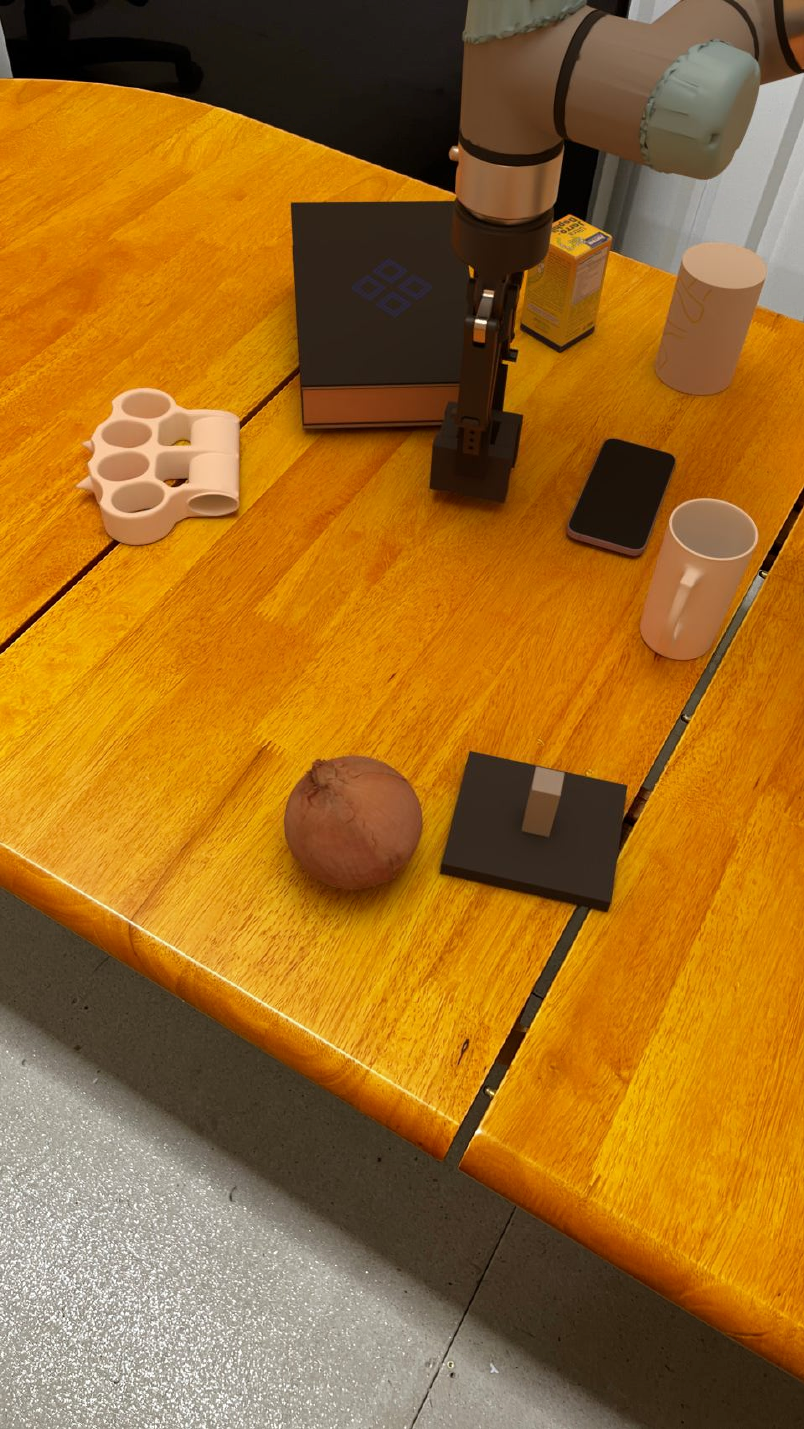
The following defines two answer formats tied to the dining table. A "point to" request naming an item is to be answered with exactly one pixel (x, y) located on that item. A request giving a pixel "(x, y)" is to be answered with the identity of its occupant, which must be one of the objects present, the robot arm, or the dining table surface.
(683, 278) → the beige cylinder
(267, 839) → the dining table surface
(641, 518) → the smartphone
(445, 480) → the black hollow block
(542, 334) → the supplement box
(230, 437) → the knuckle duster
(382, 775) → the onion
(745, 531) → the mug
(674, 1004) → the dining table surface
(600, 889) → the base pad
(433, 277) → the book
